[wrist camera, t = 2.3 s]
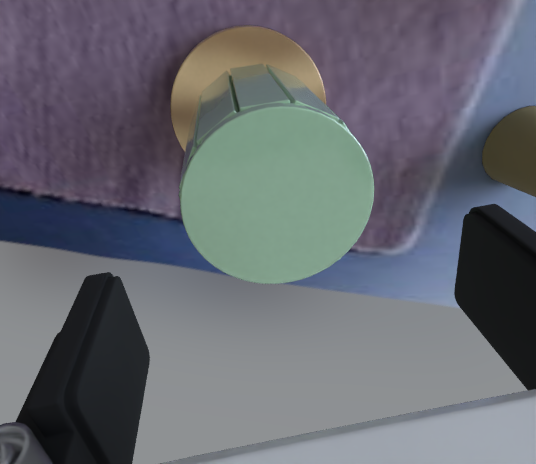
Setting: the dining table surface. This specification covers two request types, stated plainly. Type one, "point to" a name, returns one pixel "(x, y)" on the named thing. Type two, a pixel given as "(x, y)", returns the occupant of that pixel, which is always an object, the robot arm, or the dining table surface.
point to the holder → (233, 56)
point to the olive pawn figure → (513, 151)
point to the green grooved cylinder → (271, 178)
